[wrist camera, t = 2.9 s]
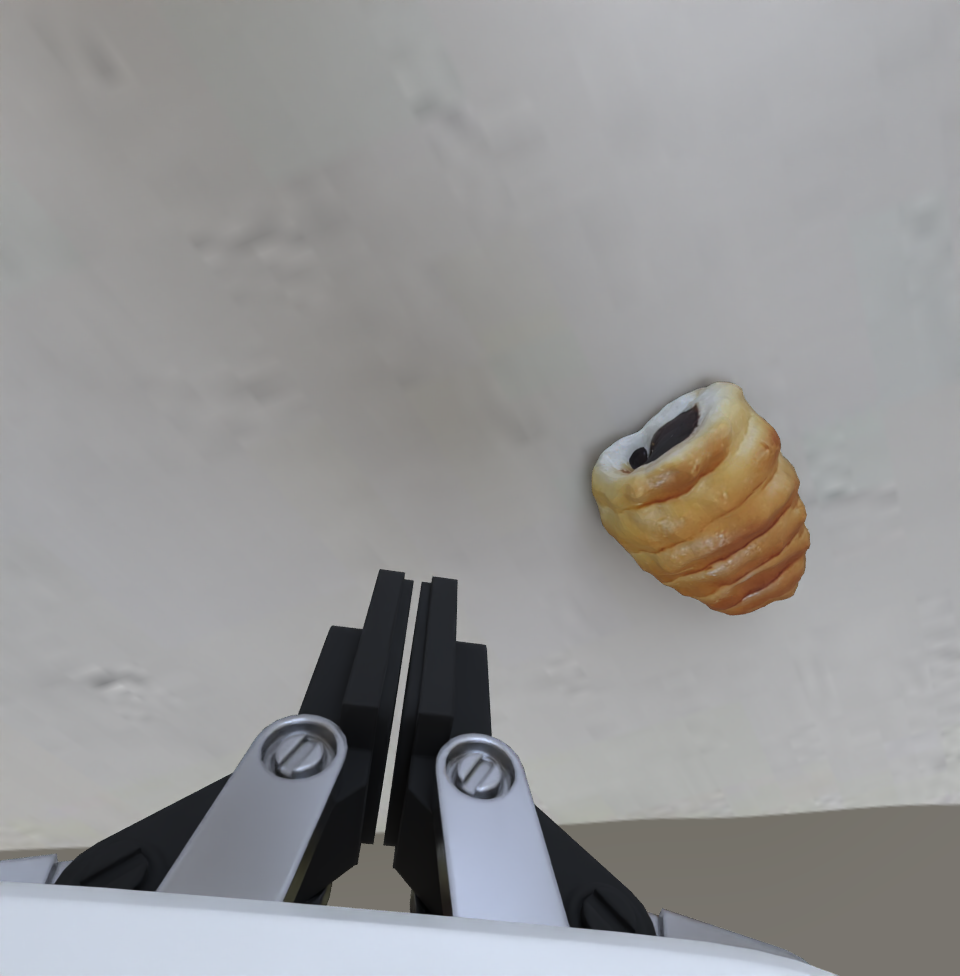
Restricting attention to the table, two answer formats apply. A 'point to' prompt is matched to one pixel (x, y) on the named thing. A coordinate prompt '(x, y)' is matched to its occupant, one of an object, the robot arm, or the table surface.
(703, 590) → the pastry
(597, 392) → the table surface
